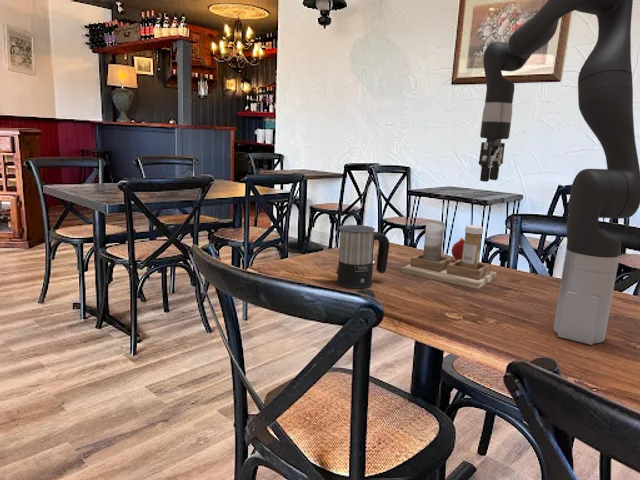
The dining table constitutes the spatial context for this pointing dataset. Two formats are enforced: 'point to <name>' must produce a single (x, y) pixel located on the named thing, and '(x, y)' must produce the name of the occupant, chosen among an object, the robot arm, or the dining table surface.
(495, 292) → the dining table surface
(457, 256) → the onion
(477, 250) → the sprinkles bottle
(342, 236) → the milk frother
